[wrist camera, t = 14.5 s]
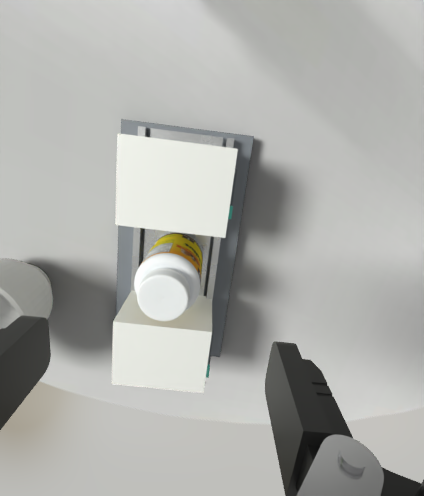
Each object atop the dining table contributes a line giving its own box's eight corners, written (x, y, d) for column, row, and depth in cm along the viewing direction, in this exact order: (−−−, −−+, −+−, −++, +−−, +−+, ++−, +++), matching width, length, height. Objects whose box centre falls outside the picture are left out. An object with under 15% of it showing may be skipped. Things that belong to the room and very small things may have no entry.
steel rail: (141, 127, 29) (138, 126, 28) (233, 139, 29) (234, 138, 28) (131, 344, 37) (128, 351, 35) (204, 351, 37) (204, 358, 36)
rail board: (125, 120, 30) (121, 119, 29) (251, 137, 31) (253, 136, 29) (118, 338, 38) (115, 346, 37) (219, 349, 39) (219, 356, 37)
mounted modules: (139, 137, 29) (117, 133, 22) (234, 150, 29) (241, 149, 22) (130, 340, 36) (111, 384, 29) (207, 348, 36) (206, 393, 29)
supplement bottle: (209, 270, 33) (208, 320, 23) (162, 284, 33) (142, 339, 24) (193, 223, 31) (184, 255, 21) (144, 239, 32) (114, 277, 22)
